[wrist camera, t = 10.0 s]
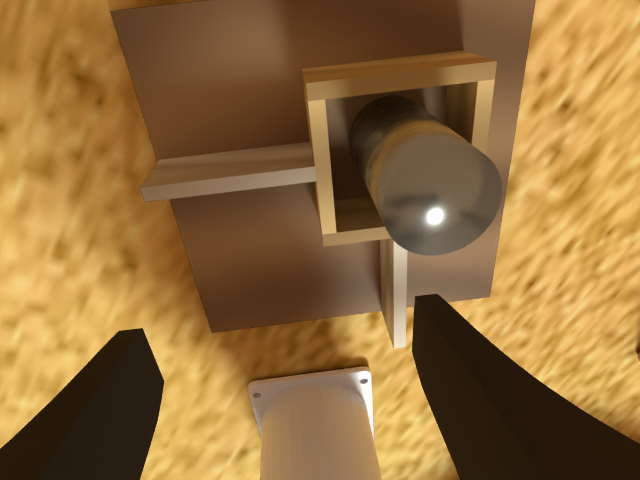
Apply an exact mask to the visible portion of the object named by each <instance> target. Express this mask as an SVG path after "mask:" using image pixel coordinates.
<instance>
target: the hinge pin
mask: <svg viewBox="0 0 640 480" xmlns="http://www.w3.org/2000/svg"><path fill="white" fill-rule="evenodd" d="M349 147H350V151H351V154H352V156H353V158H354V161H355V163H356V165H357V167H358V169H359V171H360V174H361V176H362V178H363V180H364V182H365V184H366V187H367V189H368V191H369V193H370V195H371V197H372V200H373V202H374V204H375V206H376V208H377V210H378V213H379V215H380V217H381V219H382V221H383V224H384V226H385V228H386V230H387V232H388V234H389V235H390V237H391V238H392V239H393V240H394V241H395V242H396V243H397V244H398V245H399V246H401V247H402V248H403V249H405V250H407V251H409V252H412V253H415V254H419V255H427V256H436V255H444V254H448V253H452V252H454V251H457V250H460V249H462V248H464V247H466V246H467V245H469V244H470V243H472V242H473V241H475V240H476V239H477V238H479V237H480V236H481V235H482V234H483V233H484V232H485V231H486V229H487V228H488V227H489V226H490V224H491V223H492V221H493V220H494V218H495V216H496V214H497V212H498V210H499V207H500V203H501V199H502V181H501V177H500V174H499V171H498V169H497V168H496V166H495V164H494V163H493V162H492V161H491V159H490V158H488V157H487V156H486V155H485V154H484V153H482V152H481V151H480V150H478V149H477V148H476V147H474V146H473V145H472V144H470V143H469V142H468V141H466V140H465V139H464V138H462V137H461V136H460V135H458V134H457V133H456V132H454V131H453V130H452V129H450V128H449V127H448V126H446V125H445V124H444V123H442V122H441V121H440V120H438V119H437V118H436V117H434V116H433V115H432V114H430V113H429V112H427V111H426V110H425V109H423V108H422V107H421V106H419V105H418V104H417V103H415V102H414V101H412V100H411V99H408V98H406V97H403V96H397V95H390V96H384V97H380V98H378V99H375V100H373V101H372V102H370V103H368V104H367V105H366V106H365V107H364V108H363V109H361V110H360V112H359V113H358V114H357V116H356V117H355V119H354V121H353V123H352V125H351V129H350V133H349Z"/></svg>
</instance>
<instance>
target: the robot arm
mask: <svg viewBox="0 0 640 480" xmlns="http://www.w3.org/2000/svg"><path fill="white" fill-rule="evenodd" d="M412 353H413V357H414V360H415V364H416V368H417V371H418V375H419V378H420V381H421V385H422V388H423V390H424V393H425V395H426V398H427V400H428V402H429V405H430V407H431V410H432V412H433V415H434V417H435V419H436V422H437V424H438V427H439V429H440V431H441V434H442V436H443V439H444V441H445V443H446V446H447V448H448V451H449V453H450V455H451V458H452V460H453V462H454V465H455V467H456V470H457V473H458V475H459V478H460V480H640V444H639V443H637V442H635V441H634V440H632V439H630V438H628V437H626V436H625V435H623V434H621V433H620V432H618V431H616V430H615V429H613V428H611V427H609V426H608V425H606V424H604V423H603V422H601V421H599V420H598V419H596V418H594V417H593V416H591V415H589V414H588V413H586V412H585V411H583V410H581V409H580V408H578V407H577V406H575V405H574V404H572V403H571V402H569V401H568V400H566V399H565V398H563V397H562V396H560V395H559V394H557V393H556V392H554V391H553V390H551V389H550V388H549V387H547V386H546V385H544V384H543V383H541V382H540V381H539V380H537V379H536V378H535V377H533V376H532V375H531V374H529V373H528V372H527V371H526V370H524V369H523V368H522V367H520V366H519V365H518V364H517V363H515V362H514V361H513V360H512V359H510V358H509V357H508V356H507V355H505V354H504V353H503V352H502V351H501V350H499V349H498V348H497V347H496V346H495V345H494V344H492V343H491V342H490V341H489V340H488V339H487V338H485V337H484V336H483V335H482V334H481V333H480V332H479V331H477V330H476V329H475V328H474V327H473V326H472V325H471V324H470V323H469V322H468V321H467V320H465V319H464V318H463V317H462V316H461V315H460V314H459V313H458V312H457V311H456V310H455V309H454V308H453V307H452V306H451V305H449V304H448V303H447V302H446V301H445V300H444V299H443V298H442V297H441V296H440V295H439V294H429V295H420V296H415V302H414V322H413V342H412ZM163 386H164V380H163V377H162V375H161V372H160V370H159V367H158V365H157V363H156V360H155V358H154V355H153V353H152V350H151V348H150V345H149V343H148V340H147V338H146V336H145V333H144V331H143V328H140V329H131V330H123V331H118V332H117V333H116V334H115V335H114V336H113V337H112V338H111V339H110V340H109V341H108V342H107V344H106V345H105V346H104V347H103V348H102V349H101V350H100V351H99V352H98V353H97V354H96V355H95V356H94V357H93V358H92V359H91V360H90V361H89V362H88V364H87V365H86V366H85V367H84V368H83V369H82V370H81V371H80V372H79V373H78V374H77V375H76V376H75V377H74V378H73V379H72V380H71V381H70V382H69V383H68V384H67V385H66V386H65V387H64V388H63V389H62V391H61V392H60V393H59V394H58V395H57V396H56V397H55V398H54V399H53V400H52V401H51V402H50V403H49V404H47V405H46V406H45V407H44V408H43V409H42V410H41V411H40V412H39V413H38V414H37V415H36V416H35V417H34V418H33V419H32V420H31V421H30V422H29V423H28V424H27V425H26V426H25V427H24V428H22V429H21V430H20V431H19V432H18V433H17V434H16V435H15V436H14V437H13V438H12V439H11V440H10V441H9V442H7V443H6V444H5V445H4V446H3V447H2V448H1V449H0V480H140V477H141V474H142V471H143V468H144V464H145V461H146V458H147V455H148V451H149V448H150V445H151V441H152V438H153V434H154V431H155V428H156V424H157V421H158V416H159V410H160V405H161V399H162V392H163ZM248 393H249V397H250V400H251V404H252V408H253V411H254V415H255V418H256V422H257V425H258V429H259V432H260V436H261V439H262V440H261V465H260V480H382V478H381V473H380V468H379V464H378V459H377V454H376V449H375V445H374V424H373V402H372V379H371V371H370V369H369V368H368V367H365V366H362V367H355V368H347V369H340V370H332V371H325V372H317V373H309V374H302V375H294V376H287V377H279V378H272V379H264V380H257V381H252V382H250V383H249V384H248Z"/></svg>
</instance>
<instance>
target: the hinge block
mask: <svg viewBox="0 0 640 480" xmlns="http://www.w3.org/2000/svg"><path fill="white" fill-rule="evenodd" d="M535 1H536V0H206V1H197V2H188V3H179V4H170V5H161V6H152V7H143V8H134V9H125V10H116V11H110V13H111V16H112V19H113V22H114V25H115V28H116V32H117V35H118V38H119V41H120V44H121V47H122V50H123V54H124V57H125V60H126V63H127V66H128V69H129V73H130V76H131V79H132V82H133V85H134V88H135V92H136V95H137V98H138V101H139V104H140V107H141V111H142V114H143V117H144V120H145V123H146V126H147V130H148V133H149V136H150V139H151V142H152V145H153V149H154V152H155V155H156V158H157V161H158V163H157V164H156V165H155V167H154V168H153V170H152V171H151V172H150V174H149V175H148V177H147V178H146V179H145V181H144V182H143V184H142V185H141V187H140V191H141V193H142V196H143V199H144V202H151V201H159V200H167V199H170V202H171V205H172V209H173V212H174V215H175V218H176V221H177V224H178V228H179V231H180V234H181V237H182V240H183V243H184V247H185V250H186V253H187V256H188V259H189V262H190V266H191V269H192V272H193V275H194V278H195V281H196V284H197V288H198V291H199V294H200V297H201V300H202V303H203V307H204V310H205V313H206V316H207V319H208V322H209V326H210V329H211V332H212V333H215V332H223V331H231V330H239V329H246V328H254V327H262V326H269V325H277V324H285V323H292V322H300V321H308V320H316V319H323V318H331V317H339V316H346V315H354V314H362V313H369V312H377V311H382V313H383V316H384V319H385V322H386V326H387V329H388V332H389V335H390V338H391V341H392V344H393V347H394V348H402V347H406V308H408V307H414V302H415V296H420V295H429V294H439V295H440V296H441V297H442V298H443V299H444V300H445V301H446V302H454V301H462V300H470V299H477V298H485V297H490V293H491V286H492V280H493V273H494V267H495V260H496V254H497V247H498V241H499V234H500V228H501V221H502V215H503V208H504V202H505V196H506V189H507V183H508V176H509V170H510V163H511V157H512V150H513V144H514V137H515V131H516V124H517V118H518V111H519V105H520V98H521V92H522V85H523V79H524V73H525V66H526V60H527V53H528V47H529V40H530V34H531V27H532V21H533V14H534V8H535ZM390 95H397V96H403V97H406V98H408V99H411V100H412V101H414V102H415V103H417V104H418V105H419V106H421V107H422V108H423V109H425V110H426V111H427V112H429V113H430V114H432V115H433V116H434V117H436V118H437V119H438V120H440V121H441V122H442V123H444V124H445V125H446V126H448V127H449V128H450V129H452V130H453V131H454V132H456V133H457V134H458V135H460V136H461V137H462V138H464V139H465V140H466V141H468V142H469V143H470V144H472V145H473V146H474V147H476V148H477V149H478V150H480V151H481V152H482V153H484V154H485V155H486V156H487V157H488V158H490V159H491V161H492V162H493V163H494V164H495V166H496V168H497V169H498V171H499V174H500V177H501V181H502V199H501V203H500V207H499V210H498V212H497V214H496V216H495V218H494V220H493V221H492V223H491V224H490V226H489V227H488V228H487V229H486V231H485V232H484V233H483V234H482V235H481V236H480V237H479V238H477V239H476V240H475V241H473V242H472V243H470V244H469V245H467V246H466V247H464V248H462V249H460V250H457V251H454V252H452V253H448V254H444V255H436V256H427V255H419V254H415V253H412V252H409V251H407V250H405V249H403V248H402V247H401V246H399V245H398V244H397V243H396V242H395V241H394V240H393V239H392V238H391V237H390V235H389V234H388V232H387V230H386V228H385V226H384V224H383V221H382V219H381V217H380V215H379V213H378V210H377V208H376V206H375V204H374V202H373V200H372V197H371V195H370V193H369V191H368V189H367V187H366V184H365V182H364V180H363V178H362V176H361V174H360V171H359V169H358V167H357V165H356V163H355V161H354V158H353V156H352V154H351V151H350V147H349V133H350V129H351V125H352V123H353V121H354V119H355V117H356V116H357V114H358V113H359V112H360V110H361V109H363V108H364V107H365V106H366V105H367V104H368V103H370V102H372V101H373V100H375V99H378V98H380V97H384V96H390Z"/></svg>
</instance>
